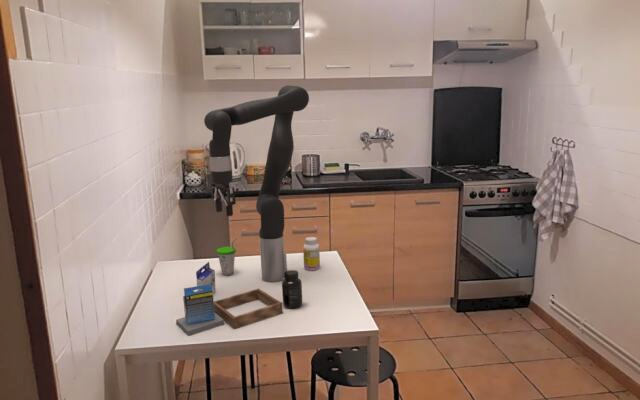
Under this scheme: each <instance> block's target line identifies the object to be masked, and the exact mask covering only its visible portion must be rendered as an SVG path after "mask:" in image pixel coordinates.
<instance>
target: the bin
mask: <svg viewBox="0 0 640 400" xmlns="http://www.w3.org/2000/svg"><path fill="white" fill-rule="evenodd" d="M257 300H259V302H261V303H263V304H264V305H266V306H265V307H261V308H258V309H254V310H251V311H248V312H244V313H242V314H238V315H236V316H235V315H233V314H232V313H231V312H230V311H229V310H228V309H230V308H234V307H237V306H241V305H243V304H247V303H250V302H253V301H257ZM213 302H214V312H215V313H216V314H217V315H218V316H220V317H221V318H222V319H223V320H224V323H226V324H227V325H229V326H230V327H231V328H233V329H234V330H236V329H238V328H241V327H245V326H248V325H249V324H253V323H256V322H259V321H262V320H265V319H268V318H271V317H274V316H277V315H281V314H283V312H284V309H283V302H281V301H280V300H278V299H276V298H275V297H273V296H272V295H270V294H268V293H266V292H264V290H261V289H260V288H254V289H252V290H247V291H245V292H242V293H239V294H235V295H231V296H228V297H224V298H221V299H217V300H213Z"/></svg>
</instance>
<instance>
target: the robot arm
mask: <svg viewBox="0 0 640 400" xmlns="http://www.w3.org/2000/svg"><path fill="white" fill-rule="evenodd" d="M309 102H310V95H309V92H308V91H307V90H306V89H305V88H303V87H301V86H297V85H291V84H290V85H284V86H283V87H281V88H280V89H279V91H278V93H277V96H276V95H275V96H273V97H268V98H267V97H266V98H262V99H256V100H249V101H246V102H243V103H239V104H236V105H233V106H230V107H224V108H219V109H215V110H211V111H209V112H208V113H207V114H206V115H205V116H204V120H203V123H204V126H205V127H206V128H207V129H208V131H211V132H212V136H211V137H212V138H211V139H210V141H209V144H208V145H209V146H208V148H209V149H208V150H209V170H210V171H209V173H210V182H211V183H210V187H211V188H210V189H211V191H210V192H211V199H212V200H214V205H215V212H217V213H221V212H223V202H224V205H225V215H226V217H232V216H233V215H234V210H233V209H234V207H233V206H234V205H236V203H237V202H236V194H235V187H233V186H232V187H230V183H232V182H233V181H234V178H233V177H234V176H233V165H232V164H233V163H232V158H231V157H232V156H231V146H230V145H231V144H230V141H231V137H232V128H233V126H240V125H241V126H242V125H245V124H249V123H252V122H255V121H258V120H261V119H264V118H267V117H271V116H274V123H273V127H272V132H271V137H270V141H269V147H268V151H267V156H266V163H265V167H264V173H263V174H264V175H263V180H262V183H261V186H260V190H259V193H258V197H257V199H256V204H255V206H256V211H257V213H258V214H259V216H260V229H259V232H258V234H259V250H260V253H259V255H260V268H261V269H260V270H261V271H260V272H261V279H262V281H264V282H269V283H270V282H271V283H274V282H280V281H283V280H284V279H285V278H284V272H286V271H288V264H287V262H288V261H287V253H285V243H284V230H285V207H284V204H283V201H282V200H281V199H279V198H280V193H281V192H280V191H281V186H282V182H283V181H284V178H285V175H286V174H287V172H288V171H289V168H290V166H291V162H292V158H293V155H294V154H293V153H294V149H295V147H294V146H295V145H294V138H293V137H294V136H293V131H292V121H293V116H294V112H301V111H303V110H304V109H306V107H307V106H308V104H309Z"/></svg>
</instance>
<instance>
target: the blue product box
mask: <svg viewBox="0 0 640 400" xmlns="http://www.w3.org/2000/svg"><path fill="white" fill-rule="evenodd" d="M197 289H203V290H202V291H197ZM183 292H184V293H183V294H184V295H183V307H184V309H183V310H184V317H185V320H186V323H187V325H189V324H193V323H198V322H202V321H207V320H213V319H215V313H214V293H213V291H212V284H208V285H202V286H197V285H196V286H191V287H184V288H183Z"/></svg>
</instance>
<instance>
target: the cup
mask: <svg viewBox="0 0 640 400" xmlns="http://www.w3.org/2000/svg"><path fill="white" fill-rule="evenodd" d="M236 240H237V238H234V239H233V240H232V241H231V246H221V247H219V248H217V249H216V255H217V256H218V261H219V266H220V270H221V275H222V276H225V277H226V276H227V277H228V276H232V275H234V270H235V259H236V258H235V257H236V252H237V249H236V247H234V242H235V241H236Z"/></svg>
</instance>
